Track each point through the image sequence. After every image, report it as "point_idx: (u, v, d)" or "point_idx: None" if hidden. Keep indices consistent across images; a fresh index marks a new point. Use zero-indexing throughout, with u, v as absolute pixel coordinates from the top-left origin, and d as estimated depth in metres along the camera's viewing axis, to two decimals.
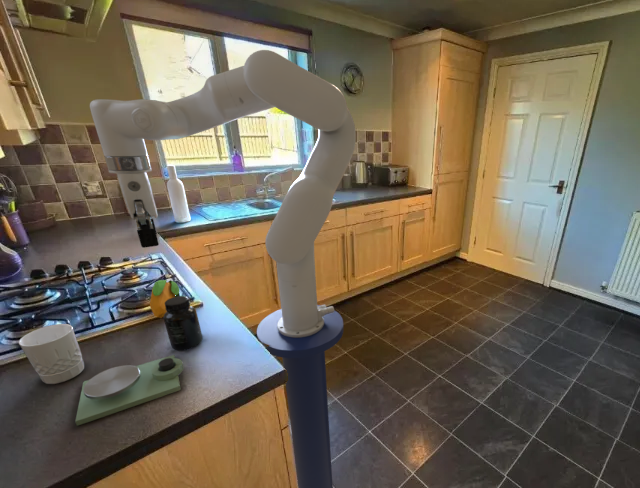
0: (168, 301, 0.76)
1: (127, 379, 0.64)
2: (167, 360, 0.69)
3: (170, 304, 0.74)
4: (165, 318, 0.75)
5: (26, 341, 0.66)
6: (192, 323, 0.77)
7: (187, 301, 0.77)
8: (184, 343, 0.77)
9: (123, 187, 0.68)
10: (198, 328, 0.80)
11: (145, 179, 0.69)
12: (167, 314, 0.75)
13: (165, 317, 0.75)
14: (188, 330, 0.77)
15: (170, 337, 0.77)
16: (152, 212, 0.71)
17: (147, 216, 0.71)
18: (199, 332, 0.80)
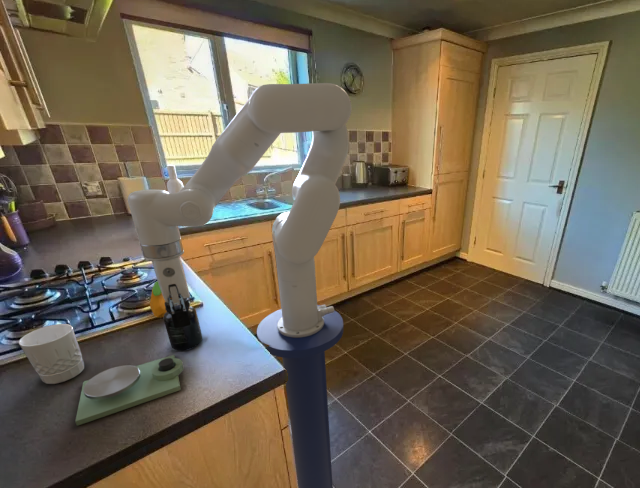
0: None
1: (127, 379, 0.64)
2: (167, 360, 0.69)
3: None
4: (165, 318, 0.75)
5: (26, 341, 0.66)
6: (192, 323, 0.77)
7: (187, 301, 0.77)
8: (184, 343, 0.77)
9: (158, 274, 0.68)
10: (198, 328, 0.79)
11: (179, 264, 0.70)
12: (167, 314, 0.75)
13: (165, 317, 0.75)
14: (188, 330, 0.77)
15: (170, 337, 0.77)
16: (185, 294, 0.72)
17: (180, 299, 0.73)
18: (199, 332, 0.80)
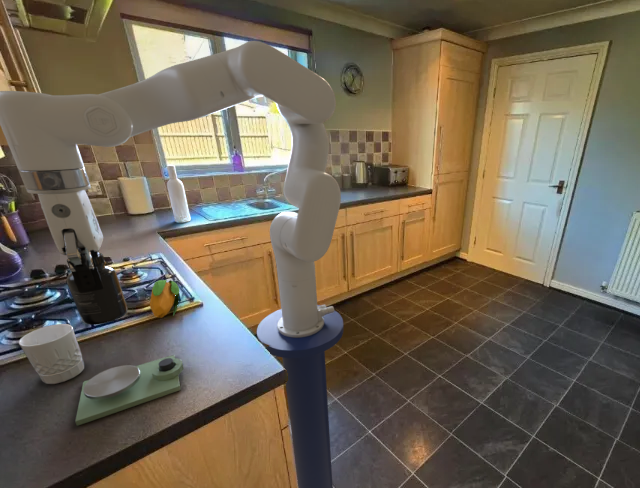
0: None
1: (127, 379, 0.64)
2: (167, 360, 0.69)
3: None
4: (68, 279, 0.56)
5: (26, 341, 0.66)
6: (108, 288, 0.58)
7: (100, 258, 0.57)
8: (97, 314, 0.58)
9: (45, 213, 0.49)
10: (119, 295, 0.60)
11: (78, 201, 0.51)
12: (71, 274, 0.56)
13: (68, 278, 0.56)
14: (101, 297, 0.57)
15: (77, 306, 0.57)
16: (90, 245, 0.53)
17: (85, 252, 0.53)
18: (120, 301, 0.61)
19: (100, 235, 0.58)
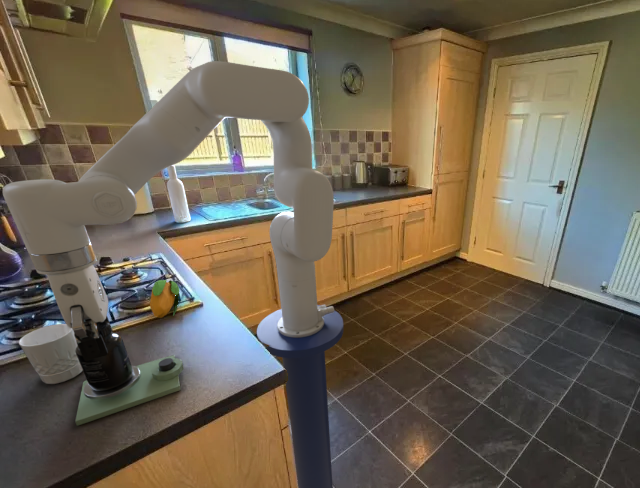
0: None
1: None
2: (167, 360, 0.69)
3: None
4: (76, 351, 0.58)
5: (26, 341, 0.66)
6: (115, 356, 0.61)
7: (107, 328, 0.60)
8: (104, 382, 0.61)
9: (54, 292, 0.51)
10: (125, 361, 0.63)
11: (85, 278, 0.53)
12: None
13: (77, 350, 0.58)
14: (108, 366, 0.60)
15: (85, 374, 0.60)
16: (97, 317, 0.55)
17: (90, 322, 0.55)
18: (126, 366, 0.63)
19: (106, 302, 0.60)
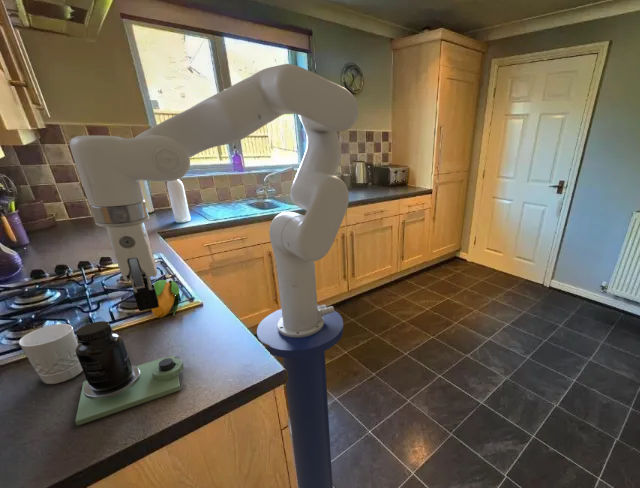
0: (81, 329, 0.59)
1: None
2: (167, 360, 0.69)
3: (82, 334, 0.58)
4: (76, 351, 0.58)
5: (26, 341, 0.66)
6: (115, 356, 0.61)
7: (107, 328, 0.60)
8: (104, 382, 0.61)
9: (113, 244, 0.54)
10: (125, 361, 0.63)
11: (141, 232, 0.55)
12: (80, 345, 0.59)
13: (77, 350, 0.58)
14: (108, 366, 0.60)
15: (85, 374, 0.60)
16: (150, 271, 0.57)
17: (145, 278, 0.60)
18: (126, 366, 0.63)
19: None
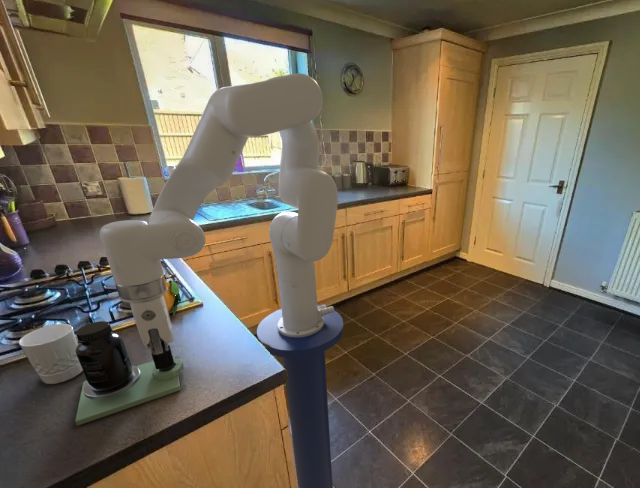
0: (81, 329, 0.59)
1: None
2: None
3: (82, 334, 0.58)
4: (76, 351, 0.58)
5: (26, 341, 0.66)
6: (115, 356, 0.61)
7: (107, 328, 0.60)
8: (104, 382, 0.61)
9: (136, 318, 0.59)
10: (125, 361, 0.63)
11: (161, 305, 0.61)
12: (80, 345, 0.59)
13: (77, 350, 0.58)
14: (108, 366, 0.60)
15: (85, 374, 0.60)
16: (168, 339, 0.63)
17: (163, 342, 0.65)
18: (126, 366, 0.63)
19: (171, 324, 0.68)
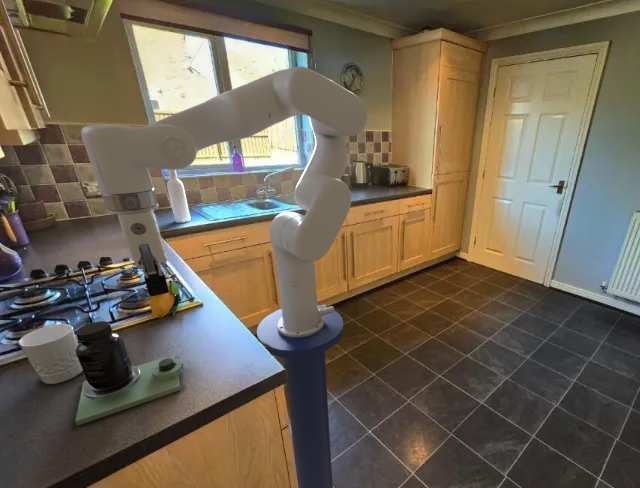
0: (81, 329, 0.59)
1: None
2: (167, 360, 0.69)
3: (82, 334, 0.58)
4: (76, 351, 0.58)
5: (26, 341, 0.66)
6: (115, 356, 0.61)
7: (107, 328, 0.60)
8: (104, 382, 0.61)
9: (125, 231, 0.55)
10: (125, 361, 0.63)
11: (152, 219, 0.57)
12: (80, 345, 0.59)
13: (77, 350, 0.58)
14: (108, 366, 0.60)
15: (85, 374, 0.60)
16: (161, 258, 0.59)
17: (156, 264, 0.61)
18: (126, 366, 0.63)
19: None
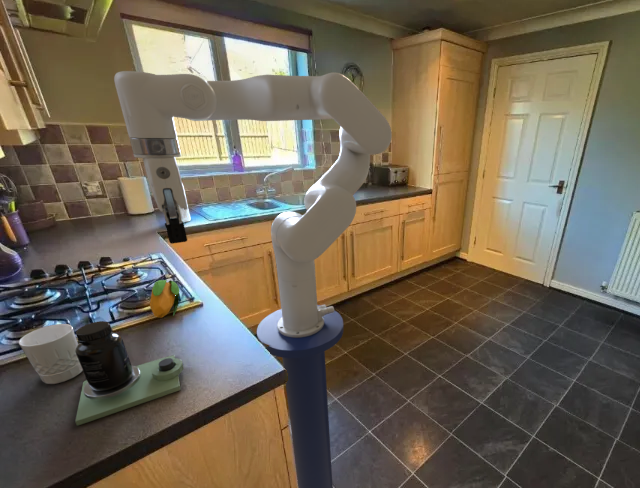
0: (81, 329, 0.59)
1: None
2: (167, 360, 0.69)
3: (82, 334, 0.58)
4: (76, 351, 0.58)
5: (26, 341, 0.66)
6: (115, 356, 0.61)
7: (107, 328, 0.60)
8: (104, 382, 0.61)
9: (151, 174, 0.59)
10: (125, 361, 0.63)
11: (175, 165, 0.61)
12: (80, 345, 0.59)
13: (77, 350, 0.58)
14: (108, 366, 0.60)
15: (85, 374, 0.60)
16: (182, 203, 0.63)
17: (177, 211, 0.65)
18: (126, 366, 0.63)
19: None
